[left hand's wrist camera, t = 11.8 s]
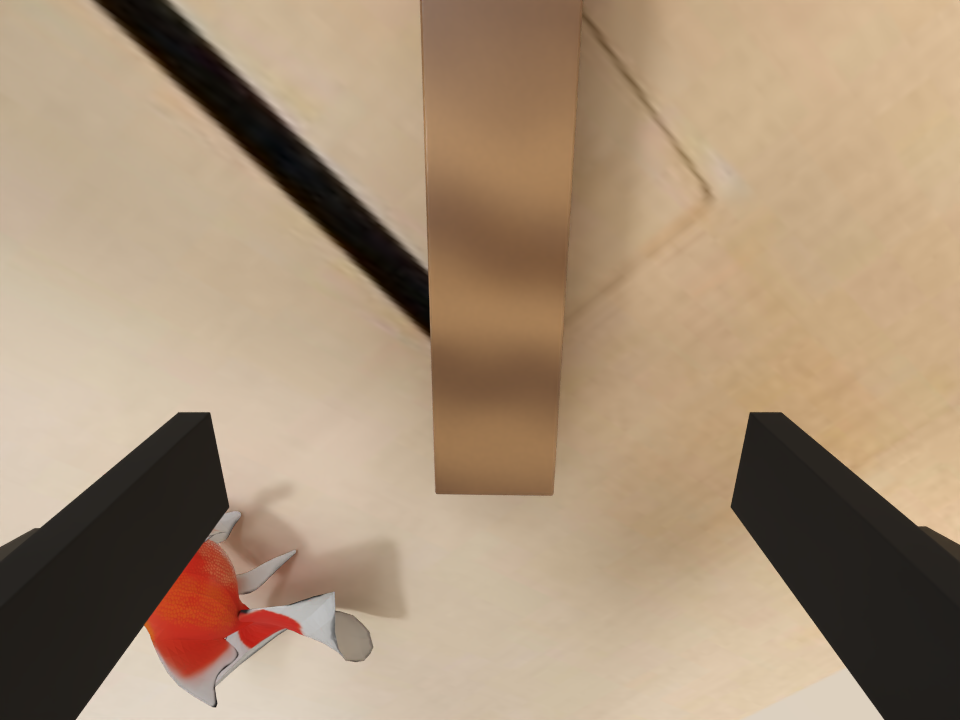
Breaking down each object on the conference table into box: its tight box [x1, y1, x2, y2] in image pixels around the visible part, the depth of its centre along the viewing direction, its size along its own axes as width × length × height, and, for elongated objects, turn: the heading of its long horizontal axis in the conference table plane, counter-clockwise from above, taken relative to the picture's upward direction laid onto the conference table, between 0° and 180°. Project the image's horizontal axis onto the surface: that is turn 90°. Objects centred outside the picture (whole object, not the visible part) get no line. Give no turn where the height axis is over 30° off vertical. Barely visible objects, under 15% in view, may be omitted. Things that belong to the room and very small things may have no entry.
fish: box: [144, 511, 373, 707], centre depth 30 cm, size 11×16×10 cm
